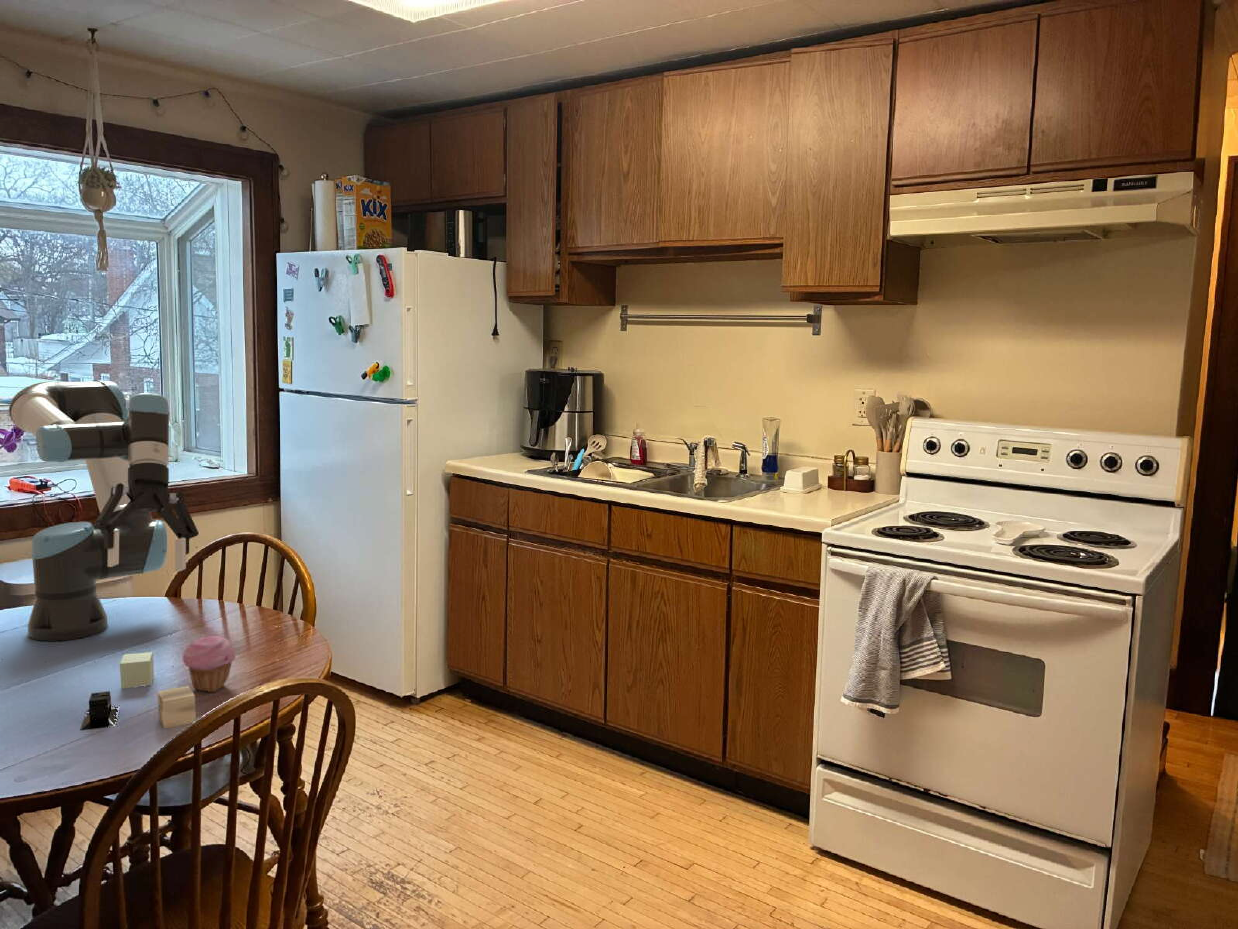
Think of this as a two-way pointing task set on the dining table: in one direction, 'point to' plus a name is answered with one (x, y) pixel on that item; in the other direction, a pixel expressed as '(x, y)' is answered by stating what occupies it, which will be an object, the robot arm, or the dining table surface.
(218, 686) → the cupcake
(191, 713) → the birch block
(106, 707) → the black piece
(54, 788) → the dining table surface
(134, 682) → the sage block
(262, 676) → the dining table surface
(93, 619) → the robot arm
